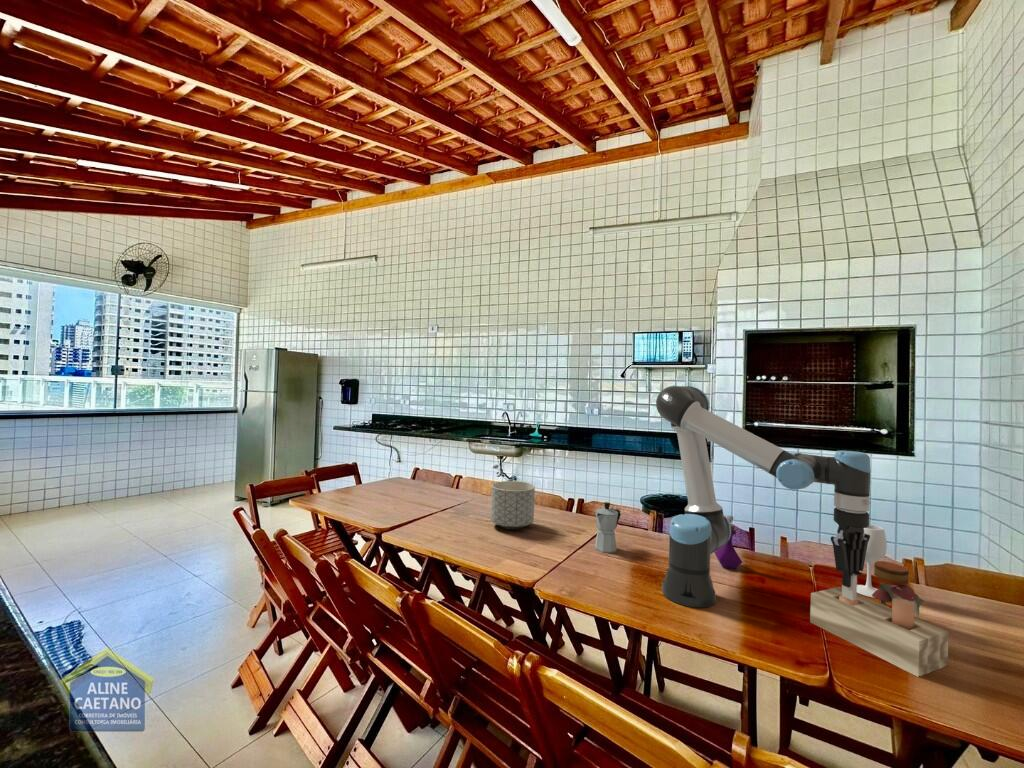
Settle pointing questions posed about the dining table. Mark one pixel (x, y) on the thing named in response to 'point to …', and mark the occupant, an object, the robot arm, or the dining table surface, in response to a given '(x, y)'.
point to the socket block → (881, 632)
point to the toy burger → (890, 591)
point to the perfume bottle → (728, 551)
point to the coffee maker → (606, 528)
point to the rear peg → (848, 600)
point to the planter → (512, 504)
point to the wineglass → (873, 555)
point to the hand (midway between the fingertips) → (849, 598)
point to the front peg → (903, 613)
